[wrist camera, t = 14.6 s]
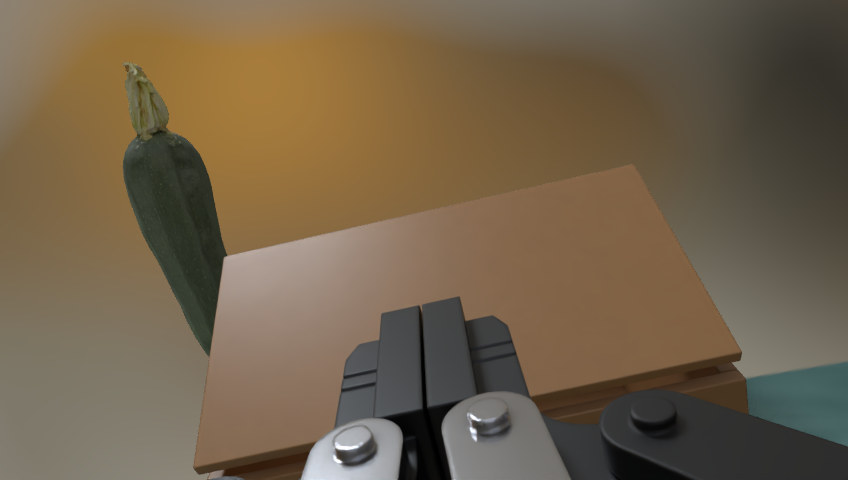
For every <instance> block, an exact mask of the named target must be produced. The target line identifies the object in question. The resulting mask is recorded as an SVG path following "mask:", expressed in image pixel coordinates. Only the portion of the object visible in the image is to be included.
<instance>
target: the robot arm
mask: <svg viewBox="0 0 848 480" xmlns="http://www.w3.org/2000/svg"><path fill="white" fill-rule="evenodd" d="M209 480H245V479H243V478H240V477H234V476H224V477H218V478H213V479H209ZM298 480H848V447H847V446H844V445H841V444H838V443H835V442H832V441H829V440H826V439H822V438H819V437H816V436H813V435H810V434H807V433H804V432H801V431H798V430H795V429H792V428H788V427H785V426H782V425H779V424H776V423H773V422H770V421H767V420H764V419H761V418H758V417H754V416H751V415H748V414H745V413H742V412H739V411H736V410H733V409H730V408H727V407H723V406H720V405H717V404H714V403H711V402H708V401H705V400H702V399H699V398H696V397H693V396H689V395H686V394H683V393H679V392H676V391H670V390H658V389H654V390H642V391H636V392H632V393H629V394H626V395H623V396H621V397H619V398H617V399H615V400H614V401H612V402H611V403H609V404H608V405H607V406H606V407H605V408H604V410H603V411H602V413H601V415H600V418H599V424H573V423H566V422H561V421H558V420H554V419H552V418H549V417H547V416H546V415H544V414H542V413H541V412H540V411H539V410H538V408H537V406H536V405H535V403H534V402H533V401H532V400H531V397H530V394H529V391H528V388H527V385H526V382H525V378H524V375H523V372H522V369H521V366H520V362H519V359H518V356H517V353H516V350H515V347H514V343H513V340H512V337H511V334H510V331H509V327H508V325H507V324H505V323H504V322H502V321H501V320H499V319H498V318H496V317H495V316H493V315H491V316H486V317H482V318H477V319H472V320H468V321H465V317H464V312H463V308H462V304H461V300H460V296H458V297H453V298H449V299H444V300H440V301H435V302H430V303H426V304H422V311H421V308H420V306H419V305H417V306H413V307H408V308H403V309H399V310H394V311H390V312H385V313H382V314H381V323H380V335H379V340H376V341H371V342H367V343H362V344H359V345H358V346H357V347H356V348H355V350H354V351H353V352H352V353H351V354H350V356H349V357H348V358H347V359H346V361H345V367H344V373H343V379H342V385H341V393H340V396H339V402H338V408H337V414H336V420H335V426H334V429H333V430H331V431H330V432H328V433H327V434H325V435H324V436H323V437H322V438H320V439H319V440H318V441H317V442H316V444H315V445H314V446H313V448H312V449H311V451H310V453H309V456H308V459H307V462H306V465H305V468H304V471H303V474H302V477H301V478H300V479H298Z"/></svg>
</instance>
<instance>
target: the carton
mask: <svg viewBox="0 0 848 480" xmlns="http://www.w3.org/2000/svg"><path fill="white" fill-rule="evenodd" d="M654 389H658V390H670V391H676V392H679V393H683V394H686V395H689V396H693V397H696V398H699V399H702V400H705V401H708V402H711V403H714V404H717V405H720V406H723V407H727V408H730V409H733V410H736V411H739V412H742V413H745V414H748V415H749V410H748V398H747V386H746V379H745V377H744V376H743V375H742V374H741V373H740V372H739V371H738V370H737V368H736V367H735V366H734V365H733V364H732V363H727V364H722V365H717V366H713V367H708V368H703V369H698V370H694V371H689V372H684V373H679V374H675V375H670V376H665V377H660V378H656V379H651V380H646V381H641V382H637V383H632V384H627V385H622V386H618V387H613V388H608V389H603V390H599V391H594V392H589V393H585V394H580V395H575V396H570V397H566V398H561V399H556V400H551V401H547V402H542V403H537V404H535V405H536V406H537V408H538V410H539V411H540V412H541V413H542V414H544V415H546V416H547V417H549V418H552V419H554V420H558V421H561V422H566V423H573V424H599V418H600V415H601V413H602V411H603V410H604V408H605V407H606V406H607V405H608V404H609V403H611V402H612V401H614V400H615V399H617V398H619V397H621V396H623V395H626V394H629V393H632V392H636V391H642V390H654ZM309 453H310V451H309V452H305V453H300V454H295V455H290V456H286V457H281V458H276V459H272V460H267V461H262V462H257V463H253V464H248V465H243V466H238V467H234V468H229V469H224V470H219V471H215V472H210V474H209V476H208V479H207V480H209V479H213V478H218V477H224V476H234V477H240V478H243V479H245V480H298V479H300V478H301V477H302V474H303V471H304V468H305V465H306V462H307V459H308V456H309Z"/></svg>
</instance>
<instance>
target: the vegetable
mask: <svg viewBox="0 0 848 480" xmlns="http://www.w3.org/2000/svg"><path fill="white" fill-rule="evenodd" d="M123 66H125V68H126V71H127V72H128V73H127V80H126V81H125V88H126V90H127V96H128V100H129V113H130V117H131V121H132V125H133V127H134V129H135V131H136V132H137V137H136V138H135V139H134V140H133V141H132V142H131V143H130V144H129V146H128V148H127V150H126V152H125V156H124V160H123V173H124V181H125V184H126V189H127V192H128V196H129V199H130V203H131V205H132V208H133V211H134V213H135V216H136V218H137V221H138V224H139V226H140V229H141V231H142V234H143V236H144V238H145V240H146V242H147V244H148V246H149V248H150V249H151V251H152V252H153V254H154V256H155V257H156V259H157V261H158V263H159V265H160V266H161V268H162V270H163V272H164V275H165V276H166V278H167V280H168V282H169V284H170V286H171V289H172V291H173V293H174V295H175V297H176V299H177V300H178V302H179V304H180V306H181V308H182V310H183V313H184V315H185V318H186V320H187V322H188V324H189V325H190V327H191V330H192V331H193V333H194V335H195V337H196V339H197V340H198V342H199V343H200V345H201V346H202V348H203V349H204V351H205V352H206V354H207V355H208V356H210V350H211V343H212V336H213V329H214V322H215V315H216V309H217V302H218V295H219V288H220V281H221V274H222V267H223V261H224V257H226V256H227V254H226V251H225V248H224V245H223V241H222V238H221V233H220V228H219V223H218V218H217V213H216V208H215V203H214V198H213V192H212V186H211V183H210V179H209V175H208V173H207V170H206V167H205V165H204V163H203V161H202V158H201V156H200V154H199V153H198V152H197V150H196V149H195V148H194V147H193V145H192V144H191V143H190V142H189V141H188V140H186V139H185V138H184V137H182V136H179V135H178V134H176V133H173V132H171V131H169V130H168V129H167V128H166V125H167V123H168V119H169V118H168V115H169V114H168V110H167V107H166V105H165V103H164V101H163V99H162V98H161V96H160V95H159V93H158V92H157V91H156V89H155V88H154V87H153V85H152V83H151V82H150V80H148V79H147V77H146V75H145V73H144V72H143V71H142V68H141V67H139V66H137V65H136V64H133V63H130V62H129V63H128V62H124V63H123Z"/></svg>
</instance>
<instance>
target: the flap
mask: <svg viewBox="0 0 848 480" xmlns="http://www.w3.org/2000/svg"><path fill="white" fill-rule="evenodd" d="M458 296H460V300H461V304H462V308H463V312H464V317H465V321H468V320H472V319H477V318H482V317H486V316H491V315H493V316H495V317H496V318H498V319H499V320H501V321H502V322H504V323H505V324H507V325H508V327H509V331H510V334H511V337H512V340H513V343H514V347H515V350H516V353H517V356H518V359H519V362H520V366H521V369H522V372H523V375H524V378H525V382H526V385H527V388H528V391H529V394H530V397H531V400H532V401H533V402H534V403H535V404H537V403H542V402H547V401H551V400H556V399H561V398H566V397H570V396H575V395H580V394H585V393H589V392H594V391H599V390H603V389H608V388H613V387H618V386H622V385H627V384H632V383H637V382H641V381H646V380H651V379H656V378H660V377H665V376H670V375H675V374H679V373H684V372H689V371H694V370H698V369H703V368H708V367H713V366H717V365H722V364H727V363H732V362H736V361H740V360H741V355H742V351H741V350H740V348H739V346H738V344H737V343H736V341H735V339H734V337H733V336H732V334H731V332H730V330H729V329H728V327H727V325H726V323H725V322H724V320H723V318H722V317H721V315H720V313H719V311H718V310H717V308H716V306H715V304H714V303H713V301H712V299H711V297H710V296H709V294H708V292H707V290H706V289H705V287H704V285H703V283H702V282H701V280H700V278H699V277H698V275H697V273H696V271H695V270H694V268H693V266H692V264H691V263H690V261H689V259H688V257H687V256H686V254H685V252H684V251H683V249H682V247H681V245H680V243H679V242H678V240H677V238H676V236H675V235H674V233H673V231H672V229H671V228H670V226H669V224H668V223H667V221H666V219H665V217H664V216H663V214H662V212H661V211H660V209H659V207H658V205H657V203H656V202H655V200H654V198H653V196H652V195H651V193H650V192H649V189H648V188H647V186H646V184H645V183H644V181H643V179H642V177H641V176H640V174H639V172H638V170H637V169H636V167H635V165H634V164H632V165H628V166H623V167H619V168H614V169H610V170H606V171H601V172H597V173H592V174H588V175H583V176H579V177H575V178H570V179H566V180H562V181H557V182H553V183H548V184H544V185H539V186H535V187H531V188H526V189H522V190H517V191H513V192H509V193H504V194H500V195H495V196H491V197H486V198H482V199H477V200H473V201H469V202H464V203H460V204H455V205H451V206H447V207H443V208H438V209H433V210H429V211H425V212H420V213H416V214H411V215H407V216H403V217H399V218H394V219H389V220H385V221H380V222H376V223H372V224H367V225H363V226H358V227H354V228H349V229H345V230H341V231H336V232H332V233H327V234H323V235H319V236H314V237H310V238H305V239H301V240H296V241H292V242H288V243H283V244H279V245H274V246H270V247H266V248H261V249H257V250H253V251H248V252H243V253H239V254H235V255H231V256H226V257H224V261H223V267H222V274H221V281H220V288H219V295H218V302H217V309H216V315H215V322H214V329H213V336H212V343H211V350H210V356H209V363H208V370H207V377H206V385H205V391H204V397H203V404H202V411H201V418H200V425H199V432H198V439H197V445H196V452H195V459H194V466H193V468H194V470H195V471H196V472H197V473H198V474H205V473H210V472H215V471H219V470H224V469H229V468H234V467H238V466H243V465H248V464H253V463H257V462H262V461H267V460H272V459H276V458H281V457H286V456H290V455H295V454H300V453H305V452H309V451H311V449H312V448H313V446H314V445H315V444H316V442H317V441H318V440H319V439H320V438H322V437H323V436H324V435H325V434H327V433H328V432H330V431H331V430H333V429H334V426H335V420H336V414H337V408H338V402H339V396H340V393H341V385H342V379H343V373H344V367H345V361H346V359H347V358H348V357H349V356H350V354H351V353H352V352H353V351H354V350H355V348H356V347H357V346H358V345H359V344H362V343H367V342H371V341H376V340H379V335H380V323H381V314H382V313H385V312H390V311H394V310H399V309H403V308H408V307H413V306H417V305H419V306H420V308H421V311H422V304H426V303H430V302H435V301H440V300H444V299H449V298H453V297H458Z"/></svg>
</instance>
